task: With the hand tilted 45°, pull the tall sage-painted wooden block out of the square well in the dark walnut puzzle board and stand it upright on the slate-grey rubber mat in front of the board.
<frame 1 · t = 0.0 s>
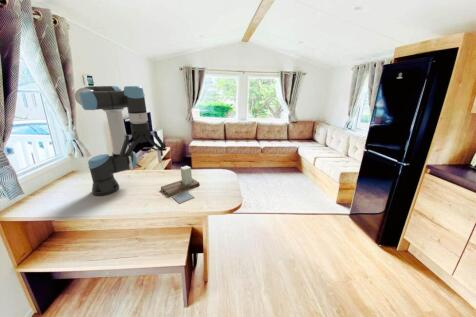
hand: (146, 166, 100), 28 cm above the table, fingers open, 13 cm apart
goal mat: (183, 197, 126), on the table
puzzle board: (180, 187, 138), on the table
puzzle block: (187, 185, 141), resting in puzzle board
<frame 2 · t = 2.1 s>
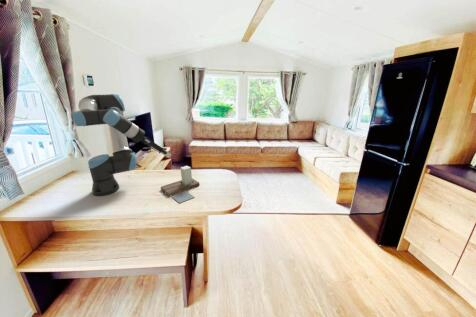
hand: (165, 153, 125), 26 cm above the table, fingers open, 13 cm apart
nothing on the table moved.
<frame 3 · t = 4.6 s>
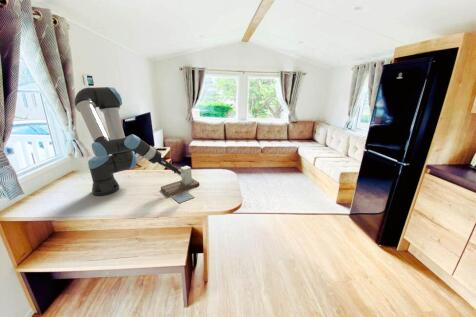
hand: (178, 172, 132), 12 cm above the table, fingers open, 13 cm apart
nothing on the table moved.
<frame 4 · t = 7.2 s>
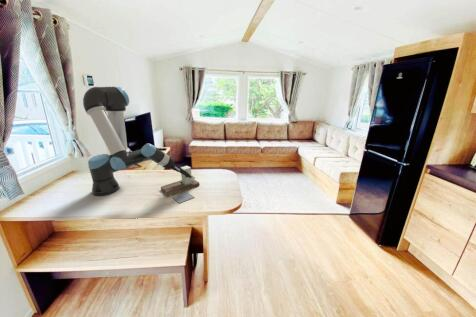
hand: (191, 177, 142), 4 cm above the table, fingers closed on puzzle block, 5 cm apart
puzzle block: (187, 185, 141), resting in puzzle board, touching gripper
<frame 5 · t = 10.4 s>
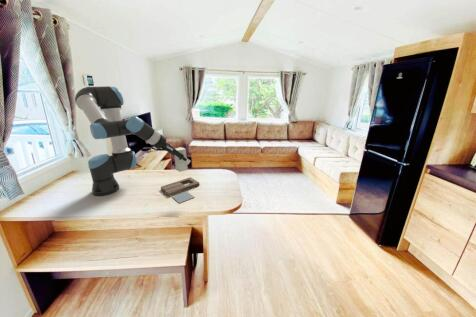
hand: (186, 161, 124), 21 cm above the table, fingers closed on puzzle block, 5 cm apart
puzzle block: (181, 169, 123), point 17 cm above the table, touching gripper
when the fingers open (6 cm above the table, at t = 13.9 s): puzzle block drops 1 cm, resting on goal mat.
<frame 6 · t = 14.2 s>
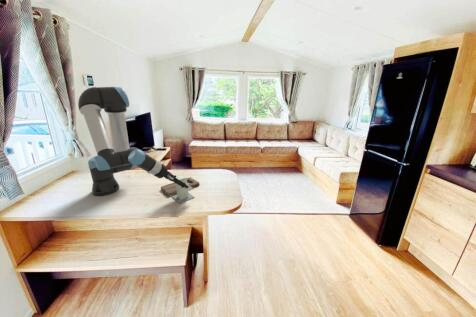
hand: (186, 186, 126), 6 cm above the table, fingers open, 9 cm apart
puzzle block: (183, 196, 126), resting on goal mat
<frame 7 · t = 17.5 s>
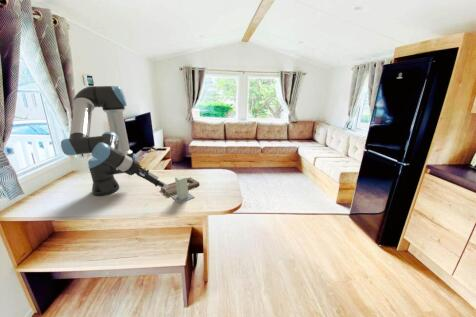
hand: (162, 183, 114), 13 cm above the table, fingers open, 13 cm apart
nothing on the table moved.
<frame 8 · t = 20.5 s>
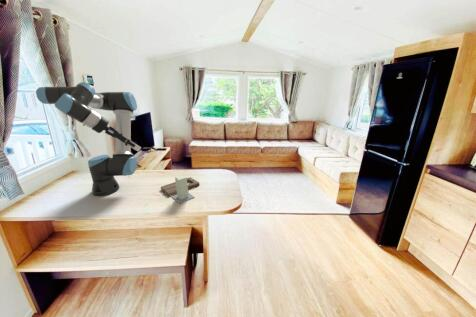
hand: (135, 146, 111), 34 cm above the table, fingers open, 13 cm apart
nothing on the table moved.
at the end: puzzle block inside the target area on the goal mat (0.1 cm from its centre), point 0.4 cm above the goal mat's base; puzzle block tilted 0°; the gripper is holding nothing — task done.
